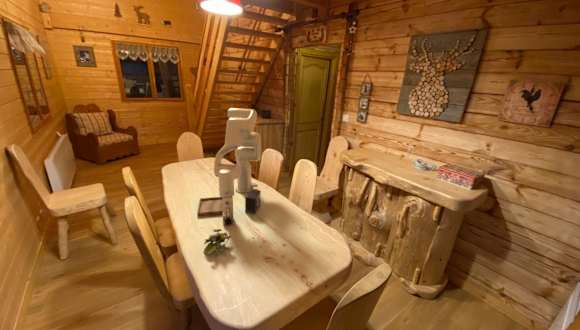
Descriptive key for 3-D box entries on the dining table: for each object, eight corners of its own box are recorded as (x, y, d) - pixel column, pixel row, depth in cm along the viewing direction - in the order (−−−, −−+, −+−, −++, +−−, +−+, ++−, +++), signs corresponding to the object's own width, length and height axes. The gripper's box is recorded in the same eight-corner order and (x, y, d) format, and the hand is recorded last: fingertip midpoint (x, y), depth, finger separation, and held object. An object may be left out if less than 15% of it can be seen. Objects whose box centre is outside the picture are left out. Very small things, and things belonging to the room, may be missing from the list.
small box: (255, 214, 140) (255, 198, 136) (244, 212, 141) (244, 197, 137) (261, 205, 150) (261, 190, 146) (251, 204, 151) (251, 189, 147)
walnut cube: (233, 218, 135) (232, 210, 133) (233, 224, 130) (233, 215, 128) (223, 219, 133) (222, 211, 131) (223, 225, 128) (222, 216, 126)
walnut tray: (225, 199, 154) (225, 196, 154) (225, 214, 139) (225, 210, 138) (200, 201, 150) (199, 198, 150) (197, 216, 135) (197, 213, 134)
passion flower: (219, 253, 116) (231, 230, 117) (225, 264, 106) (238, 239, 108) (197, 246, 110) (210, 223, 111) (202, 258, 101) (215, 232, 102)
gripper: (234, 199, 118) (236, 229, 124) (233, 184, 134) (234, 212, 140) (219, 200, 116) (221, 231, 123) (219, 185, 132) (221, 213, 138)
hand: (228, 220), depth 131 cm, fingers open, 6 cm apart
